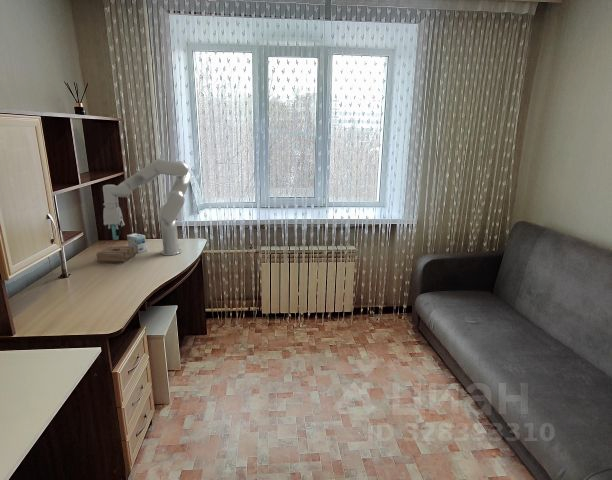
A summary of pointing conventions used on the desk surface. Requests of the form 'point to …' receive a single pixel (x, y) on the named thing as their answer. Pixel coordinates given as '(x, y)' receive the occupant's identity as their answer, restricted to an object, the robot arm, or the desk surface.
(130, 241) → the light bulb box
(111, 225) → the teal peg
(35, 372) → the desk surface
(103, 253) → the walnut socket block
